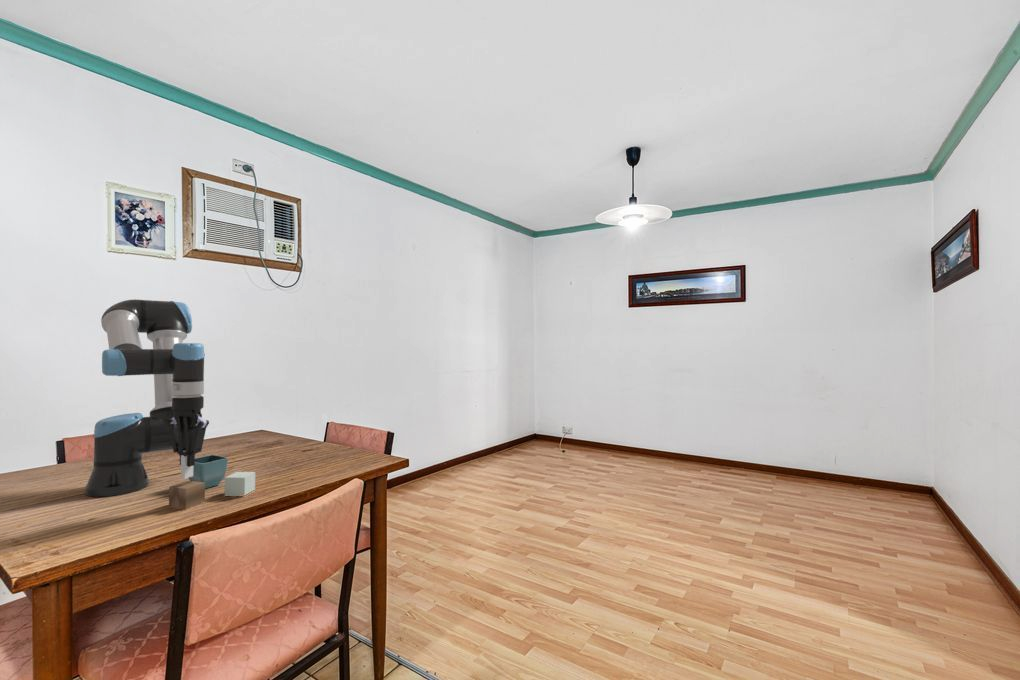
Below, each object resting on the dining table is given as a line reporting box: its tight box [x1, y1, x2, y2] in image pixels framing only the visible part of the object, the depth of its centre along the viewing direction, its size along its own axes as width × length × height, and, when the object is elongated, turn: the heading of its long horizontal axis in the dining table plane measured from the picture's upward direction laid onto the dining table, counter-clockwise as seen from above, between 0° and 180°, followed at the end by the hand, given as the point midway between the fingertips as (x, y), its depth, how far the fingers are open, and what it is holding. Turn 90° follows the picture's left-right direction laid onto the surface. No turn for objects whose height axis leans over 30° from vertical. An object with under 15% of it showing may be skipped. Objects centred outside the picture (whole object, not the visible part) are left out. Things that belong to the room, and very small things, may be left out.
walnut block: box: [168, 480, 206, 511], centre depth 132 cm, size 6×6×6 cm
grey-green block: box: [224, 471, 256, 497], centre depth 142 cm, size 6×6×6 cm
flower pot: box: [188, 454, 229, 489], centre depth 149 cm, size 9×9×9 cm
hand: (187, 477), depth 132 cm, fingers closed
